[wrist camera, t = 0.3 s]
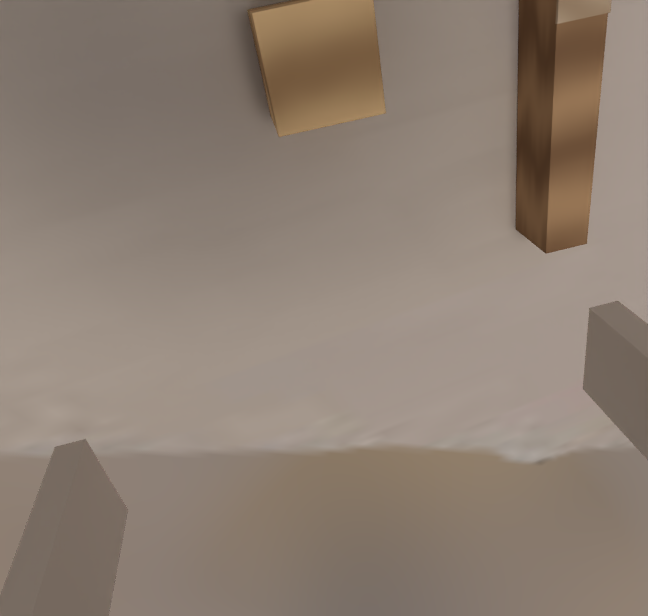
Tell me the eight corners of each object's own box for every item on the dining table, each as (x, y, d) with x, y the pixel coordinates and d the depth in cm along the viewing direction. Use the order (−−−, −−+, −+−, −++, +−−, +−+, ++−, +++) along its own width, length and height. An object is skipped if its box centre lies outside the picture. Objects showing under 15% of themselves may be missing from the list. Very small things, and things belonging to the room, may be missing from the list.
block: (247, 9, 31) (252, 12, 26) (347, -12, 31) (371, -13, 26) (270, 115, 34) (279, 137, 29) (361, 95, 35) (385, 113, 29)
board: (521, -232, 28) (571, -269, 24) (578, -242, 28) (637, -282, 24) (515, 229, 41) (546, 254, 37) (553, 220, 41) (588, 244, 37)
